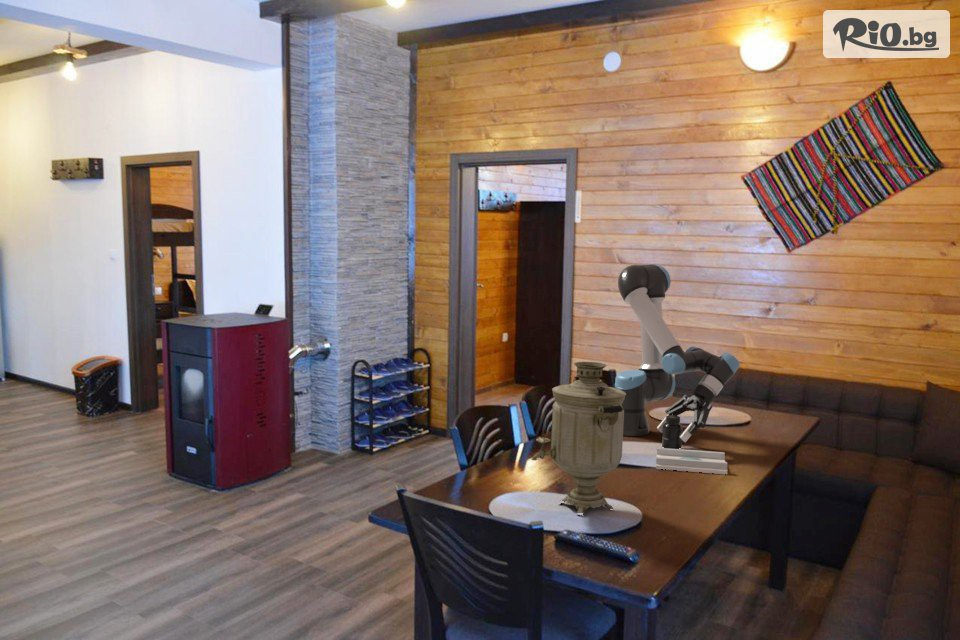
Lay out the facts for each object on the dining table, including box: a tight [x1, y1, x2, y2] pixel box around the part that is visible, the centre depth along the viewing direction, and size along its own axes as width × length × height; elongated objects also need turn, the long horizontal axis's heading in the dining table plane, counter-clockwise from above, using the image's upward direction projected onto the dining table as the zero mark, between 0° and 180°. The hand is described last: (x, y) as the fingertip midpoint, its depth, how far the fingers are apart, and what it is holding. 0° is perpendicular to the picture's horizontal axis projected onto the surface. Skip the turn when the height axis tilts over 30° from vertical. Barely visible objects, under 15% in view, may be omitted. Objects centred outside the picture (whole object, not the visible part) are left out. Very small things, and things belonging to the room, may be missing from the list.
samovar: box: [531, 361, 626, 514], centre depth 202 cm, size 30×26×40 cm
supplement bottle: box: [661, 414, 683, 449], centre depth 261 cm, size 7×7×12 cm
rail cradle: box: [655, 447, 729, 475], centre depth 243 cm, size 22×16×3 cm
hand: (670, 435), depth 260 cm, fingers open, 13 cm apart
